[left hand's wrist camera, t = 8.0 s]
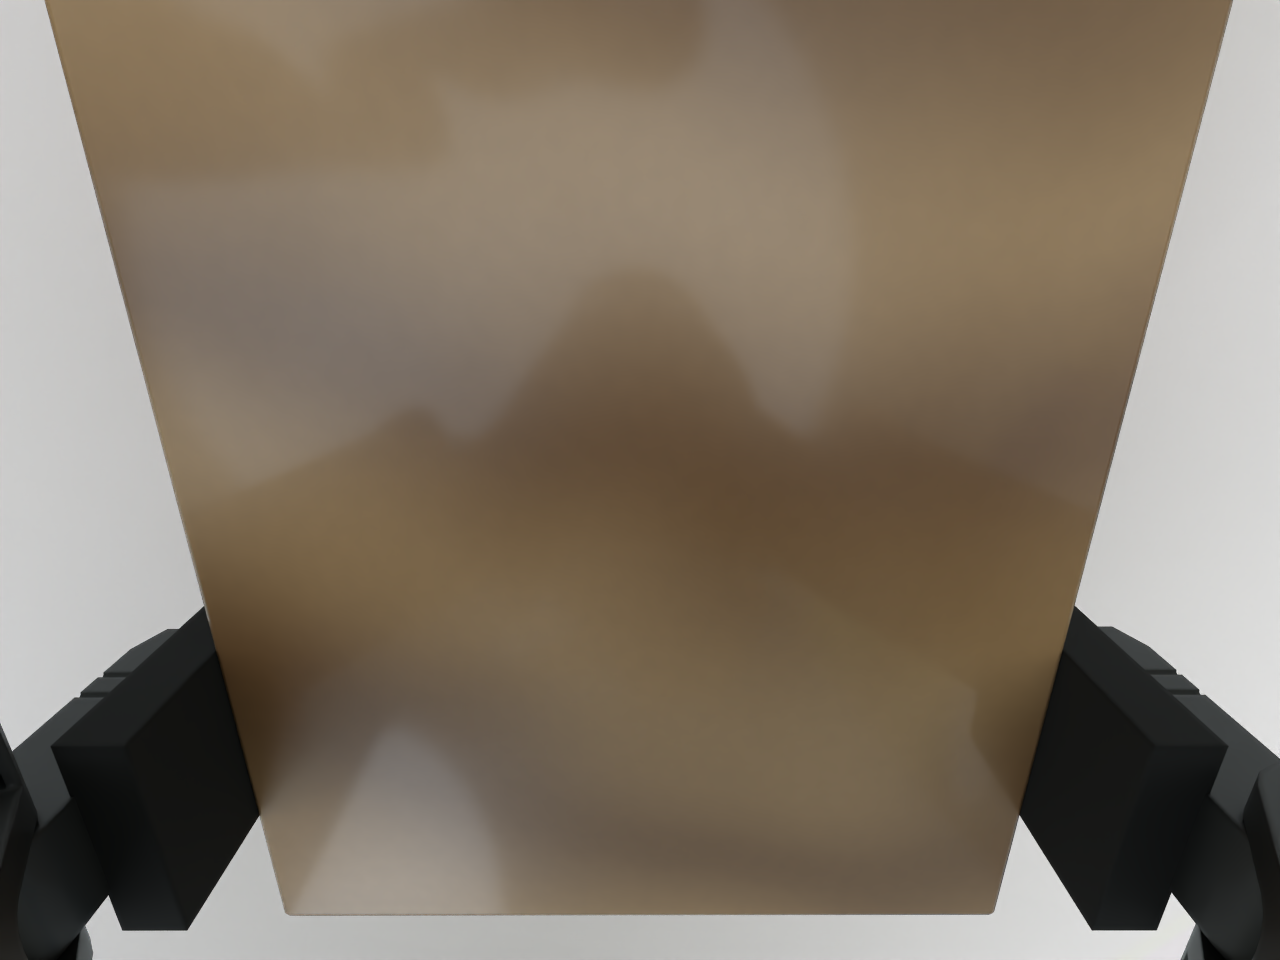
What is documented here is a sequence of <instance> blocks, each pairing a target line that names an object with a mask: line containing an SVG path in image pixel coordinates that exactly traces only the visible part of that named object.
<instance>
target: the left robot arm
mask: <svg viewBox="0 0 1280 960" xmlns="http://www.w3.org/2000/svg"><path fill="white" fill-rule="evenodd" d="M1019 815H1020V816H1021V818H1022V820H1023V821H1024V823H1025V824H1026V826H1027V828H1028V829H1029V831H1030V832H1031V834H1032V836H1033V837H1034V839H1035V840H1036V842H1037V843H1038V845H1039V847H1040V848H1041V850H1042V851H1043V853H1044V855H1045V856H1046V858H1047V859H1048V861H1049V863H1050V864H1051V866H1052V867H1053V869H1054V871H1055V872H1056V874H1057V875H1058V877H1059V879H1060V880H1061V882H1062V883H1063V885H1064V887H1065V888H1066V890H1067V891H1068V893H1069V895H1070V896H1071V898H1072V899H1073V901H1074V902H1075V904H1076V906H1077V907H1078V909H1079V910H1080V912H1081V914H1082V915H1083V917H1084V918H1085V920H1086V922H1087V923H1088V925H1089V926H1090V928H1091V930H1157V928H1158V926H1159V923H1160V920H1161V918H1162V915H1163V913H1164V910H1165V908H1166V905H1167V903H1168V900H1169V897H1170V895H1171V892H1172V893H1173V895H1174V896H1175V897H1176V899H1177V900H1178V901H1179V902H1180V904H1181V905H1182V906H1183V908H1184V909H1185V910H1186V911H1187V913H1188V914H1189V915H1190V917H1191V918H1192V919H1193V920H1194V922H1195V923H1196V925H1195V927H1194V929H1193V932H1192V934H1191V936H1190V939H1189V941H1188V944H1187V946H1186V948H1185V951H1184V953H1183V956H1182V958H1181V960H1280V759H1279V758H1278V757H1277V756H1276V755H1275V754H1274V753H1272V752H1271V751H1270V750H1269V749H1268V748H1267V747H1265V746H1264V745H1263V744H1262V743H1261V742H1260V741H1258V740H1257V739H1256V738H1255V737H1254V736H1253V735H1251V734H1250V733H1249V732H1248V731H1247V730H1246V729H1244V728H1243V727H1242V726H1241V725H1240V724H1239V723H1237V722H1236V721H1235V720H1234V719H1233V718H1232V717H1230V716H1229V715H1228V714H1227V713H1226V712H1225V711H1223V710H1222V709H1221V708H1220V707H1219V706H1218V705H1216V704H1215V703H1214V702H1213V701H1212V700H1211V699H1209V698H1208V697H1207V696H1206V695H1200V693H1199V689H1198V688H1197V687H1195V686H1194V685H1193V684H1192V683H1191V682H1190V681H1189V680H1187V679H1186V678H1185V677H1184V676H1183V675H1177V673H1176V669H1175V668H1173V667H1172V666H1171V665H1170V664H1169V663H1168V662H1166V661H1165V660H1164V659H1163V658H1162V657H1161V656H1159V655H1158V654H1157V653H1156V652H1155V651H1154V650H1152V649H1151V648H1150V647H1149V646H1147V645H1145V644H1143V643H1141V642H1140V641H1138V640H1136V639H1134V638H1132V637H1130V636H1128V635H1127V634H1125V633H1123V632H1121V631H1119V630H1117V629H1116V628H1114V627H1097V626H1096V625H1095V624H1094V623H1093V622H1092V621H1091V620H1090V619H1089V618H1088V617H1086V616H1085V615H1084V614H1083V613H1082V612H1081V611H1080V610H1079V609H1078V608H1077V607H1075V606H1074V608H1073V612H1072V616H1071V620H1070V624H1069V628H1068V631H1067V635H1066V639H1065V643H1064V647H1063V650H1062V654H1061V658H1060V662H1059V666H1058V669H1057V673H1056V677H1055V681H1054V685H1053V689H1052V692H1051V696H1050V700H1049V704H1048V708H1047V711H1046V715H1045V719H1044V723H1043V727H1042V730H1041V734H1040V738H1039V742H1038V746H1037V750H1036V753H1035V757H1034V761H1033V765H1032V769H1031V772H1030V776H1029V780H1028V784H1027V788H1026V791H1025V795H1024V799H1023V803H1022V807H1021V811H1020V814H1019ZM258 817H259V811H258V808H257V804H256V800H255V796H254V792H253V789H252V785H251V781H250V777H249V773H248V770H247V766H246V762H245V758H244V755H243V751H242V747H241V743H240V739H239V736H238V732H237V728H236V724H235V720H234V717H233V713H232V709H231V705H230V701H229V698H228V694H227V690H226V686H225V682H224V679H223V675H222V671H221V667H220V663H219V660H218V656H217V652H216V648H215V645H214V641H213V637H212V633H211V629H210V626H209V622H208V618H207V614H206V610H205V607H203V608H202V609H200V610H199V611H198V612H197V613H196V614H195V615H194V616H193V617H192V618H191V619H189V620H188V621H187V622H186V623H185V624H184V625H183V626H182V627H181V628H180V629H167V630H165V631H163V632H161V633H160V634H158V635H156V636H154V637H152V638H150V639H149V640H147V641H145V642H143V643H141V644H139V645H137V646H136V647H134V648H132V649H130V650H129V651H128V652H127V653H126V654H125V655H123V656H122V657H121V658H120V659H119V660H118V661H117V662H115V663H114V664H113V665H112V666H111V667H110V668H108V669H107V670H106V671H105V672H104V675H103V677H98V678H97V679H96V680H95V681H93V682H92V683H91V684H90V685H89V686H88V687H86V688H85V689H84V690H83V691H82V692H81V695H80V697H79V698H74V699H73V700H71V701H70V702H69V703H68V704H67V705H66V706H64V707H63V708H62V709H61V710H60V711H59V712H57V713H56V714H55V715H54V716H53V717H52V718H51V719H49V720H48V721H47V722H46V723H45V724H44V725H42V726H41V727H40V728H39V729H38V730H37V731H35V732H34V733H33V734H32V735H31V736H30V737H29V738H27V739H26V740H25V741H24V742H23V743H22V744H20V745H19V746H18V747H17V748H16V749H15V750H13V751H12V750H11V748H10V745H9V743H8V741H7V738H6V736H5V733H4V731H3V729H2V726H1V724H0V960H92V957H93V950H92V945H91V940H90V936H89V934H88V932H87V929H86V927H85V925H86V923H87V922H88V921H89V920H90V918H91V917H92V916H93V914H94V913H95V912H96V910H97V909H98V908H99V907H100V905H101V904H102V903H103V901H104V900H105V899H106V898H107V896H108V895H109V897H110V900H111V903H112V905H113V908H114V910H115V913H116V915H117V918H118V920H119V923H120V926H121V928H122V931H153V930H188V928H189V927H190V925H191V924H192V922H193V920H194V919H195V917H196V916H197V914H198V912H199V911H200V909H201V908H202V906H203V904H204V903H205V901H206V900H207V898H208V896H209V895H210V893H211V892H212V890H213V889H214V887H215V885H216V884H217V882H218V881H219V879H220V877H221V876H222V874H223V873H224V871H225V869H226V868H227V866H228V865H229V863H230V861H231V860H232V858H233V857H234V855H235V853H236V852H237V850H238V849H239V847H240V845H241V844H242V842H243V841H244V839H245V838H246V836H247V834H248V833H249V831H250V830H251V828H252V826H253V825H254V823H255V822H256V820H257V818H258Z"/></svg>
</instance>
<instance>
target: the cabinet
mask: <svg viewBox="0 0 1280 960" xmlns="http://www.w3.org/2000/svg"><path fill="white" fill-rule="evenodd" d="M1232 2H1233V0H45V4H46V7H47V11H48V15H49V19H50V23H51V26H52V30H53V34H54V38H55V41H56V45H57V49H58V53H59V57H60V60H61V64H62V68H63V72H64V76H65V79H66V83H67V87H68V91H69V95H70V98H71V102H72V106H73V110H74V114H75V117H76V121H77V125H78V129H79V132H80V136H81V140H82V144H83V148H84V151H85V155H86V159H87V163H88V167H89V170H90V174H91V178H92V182H93V186H94V189H95V193H96V197H97V201H98V205H99V208H100V212H101V216H102V220H103V224H104V227H105V231H106V235H107V239H108V242H109V246H110V250H111V254H112V258H113V261H114V265H115V269H116V273H117V277H118V280H119V284H120V288H121V292H122V296H123V299H124V303H125V307H126V311H127V315H128V318H129V322H130V326H131V330H132V334H133V337H134V341H135V345H136V349H137V352H138V356H139V360H140V364H141V368H142V371H143V375H144V379H145V383H146V387H147V390H148V394H149V398H150V402H151V406H152V409H153V413H154V417H155V421H156V425H157V428H158V432H159V436H160V440H161V444H162V447H163V451H164V455H165V459H166V462H167V466H168V470H169V474H170V478H171V481H172V485H173V489H174V493H175V497H176V500H177V504H178V508H179V512H180V516H181V519H182V523H183V527H184V531H185V535H186V538H187V542H188V546H189V550H190V553H191V557H192V561H193V565H194V569H195V572H196V576H197V580H198V584H199V588H200V591H201V595H202V599H203V603H204V607H205V610H206V614H207V618H208V622H209V626H210V629H211V633H212V637H213V641H214V645H215V648H216V652H217V656H218V660H219V663H220V667H221V671H222V675H223V679H224V682H225V686H226V690H227V694H228V698H229V701H230V705H231V709H232V713H233V717H234V720H235V724H236V728H237V732H238V736H239V739H240V743H241V747H242V751H243V755H244V758H245V762H246V766H247V770H248V773H249V777H250V781H251V785H252V789H253V792H254V796H255V800H256V804H257V808H258V811H259V815H260V819H261V823H262V827H263V830H264V834H265V838H266V842H267V846H268V849H269V853H270V857H271V861H272V864H273V868H274V872H275V876H276V880H277V883H278V887H279V891H280V895H281V899H282V902H283V906H284V910H285V913H286V914H288V915H290V916H316V915H989V914H992V913H993V912H994V910H995V906H996V902H997V898H998V894H999V891H1000V887H1001V883H1002V879H1003V875H1004V872H1005V868H1006V864H1007V860H1008V856H1009V852H1010V849H1011V845H1012V841H1013V837H1014V833H1015V830H1016V826H1017V822H1018V818H1019V814H1020V811H1021V807H1022V803H1023V799H1024V795H1025V791H1026V788H1027V784H1028V780H1029V776H1030V772H1031V769H1032V765H1033V761H1034V757H1035V753H1036V750H1037V746H1038V742H1039V738H1040V734H1041V730H1042V727H1043V723H1044V719H1045V715H1046V711H1047V708H1048V704H1049V700H1050V696H1051V692H1052V689H1053V685H1054V681H1055V677H1056V673H1057V669H1058V666H1059V662H1060V658H1061V654H1062V650H1063V647H1064V643H1065V639H1066V635H1067V631H1068V628H1069V624H1070V620H1071V616H1072V612H1073V608H1074V605H1075V601H1076V597H1077V593H1078V589H1079V586H1080V582H1081V578H1082V574H1083V570H1084V567H1085V563H1086V559H1087V555H1088V551H1089V547H1090V544H1091V540H1092V536H1093V532H1094V528H1095V525H1096V521H1097V517H1098V513H1099V509H1100V506H1101V502H1102V498H1103V494H1104V490H1105V486H1106V483H1107V479H1108V475H1109V471H1110V467H1111V464H1112V460H1113V456H1114V452H1115V448H1116V445H1117V441H1118V437H1119V433H1120V429H1121V425H1122V422H1123V418H1124V414H1125V410H1126V406H1127V403H1128V399H1129V395H1130V391H1131V387H1132V384H1133V380H1134V376H1135V372H1136V368H1137V365H1138V361H1139V357H1140V353H1141V349H1142V345H1143V342H1144V338H1145V334H1146V330H1147V326H1148V323H1149V319H1150V315H1151V311H1152V307H1153V304H1154V300H1155V296H1156V292H1157V288H1158V284H1159V281H1160V277H1161V273H1162V269H1163V265H1164V262H1165V258H1166V254H1167V250H1168V246H1169V243H1170V239H1171V235H1172V231H1173V227H1174V223H1175V220H1176V216H1177V212H1178V208H1179V204H1180V201H1181V197H1182V193H1183V189H1184V185H1185V182H1186V178H1187V174H1188V170H1189V166H1190V162H1191V159H1192V155H1193V151H1194V147H1195V143H1196V140H1197V136H1198V132H1199V128H1200V124H1201V121H1202V117H1203V113H1204V109H1205V105H1206V101H1207V98H1208V94H1209V90H1210V86H1211V82H1212V79H1213V75H1214V71H1215V67H1216V63H1217V60H1218V56H1219V52H1220V48H1221V44H1222V40H1223V37H1224V33H1225V29H1226V25H1227V21H1228V18H1229V14H1230V10H1231V6H1232Z"/></svg>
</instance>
